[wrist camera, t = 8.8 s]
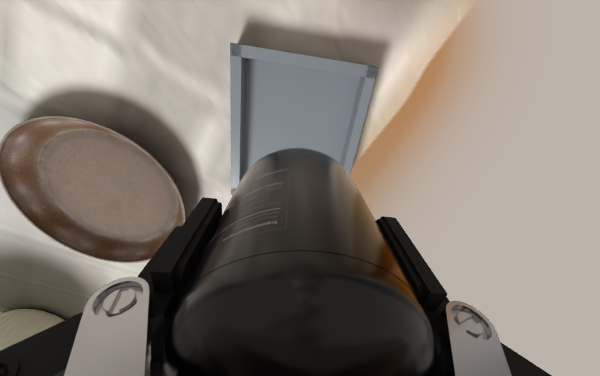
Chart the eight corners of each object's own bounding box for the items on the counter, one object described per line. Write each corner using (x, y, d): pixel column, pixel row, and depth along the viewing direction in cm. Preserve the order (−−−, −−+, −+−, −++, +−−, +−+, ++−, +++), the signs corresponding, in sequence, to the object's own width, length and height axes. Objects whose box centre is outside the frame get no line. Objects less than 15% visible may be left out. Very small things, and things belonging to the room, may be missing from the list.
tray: (236, 45, 22) (230, 42, 20) (370, 67, 24) (378, 67, 21) (235, 185, 30) (231, 194, 28) (338, 197, 31) (341, 206, 29)
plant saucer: (149, 268, 37) (136, 285, 34) (4, 191, 30) (-28, 205, 27) (224, 189, 30) (217, 202, 28) (62, 67, 23) (28, 67, 20)
